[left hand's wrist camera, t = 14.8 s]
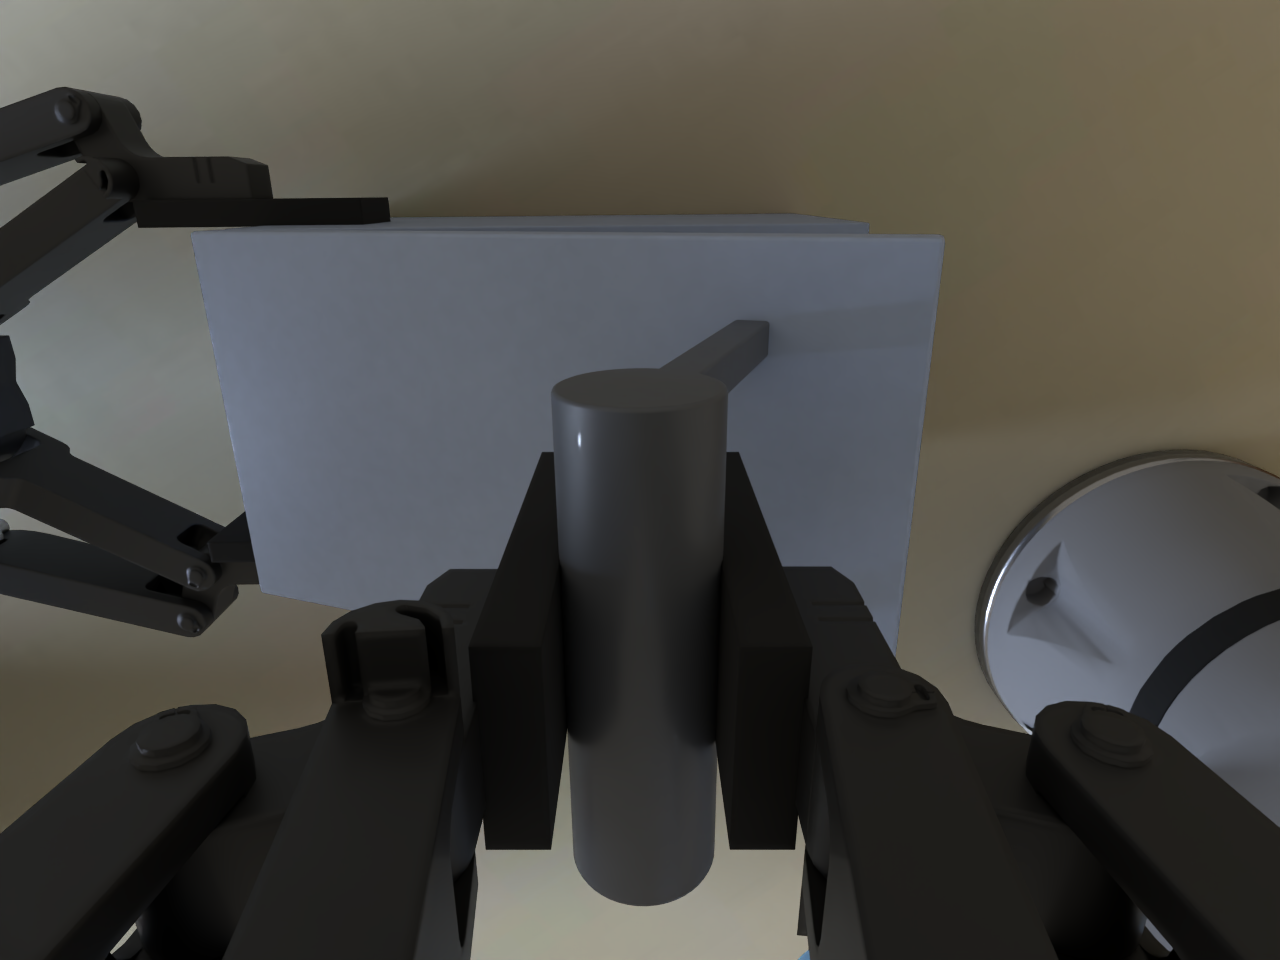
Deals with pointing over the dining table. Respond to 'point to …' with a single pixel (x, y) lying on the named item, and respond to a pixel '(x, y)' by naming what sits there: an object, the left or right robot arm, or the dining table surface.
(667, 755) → the lid
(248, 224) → the right robot arm
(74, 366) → the dining table surface
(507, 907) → the dining table surface
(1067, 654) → the left robot arm
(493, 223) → the chest
